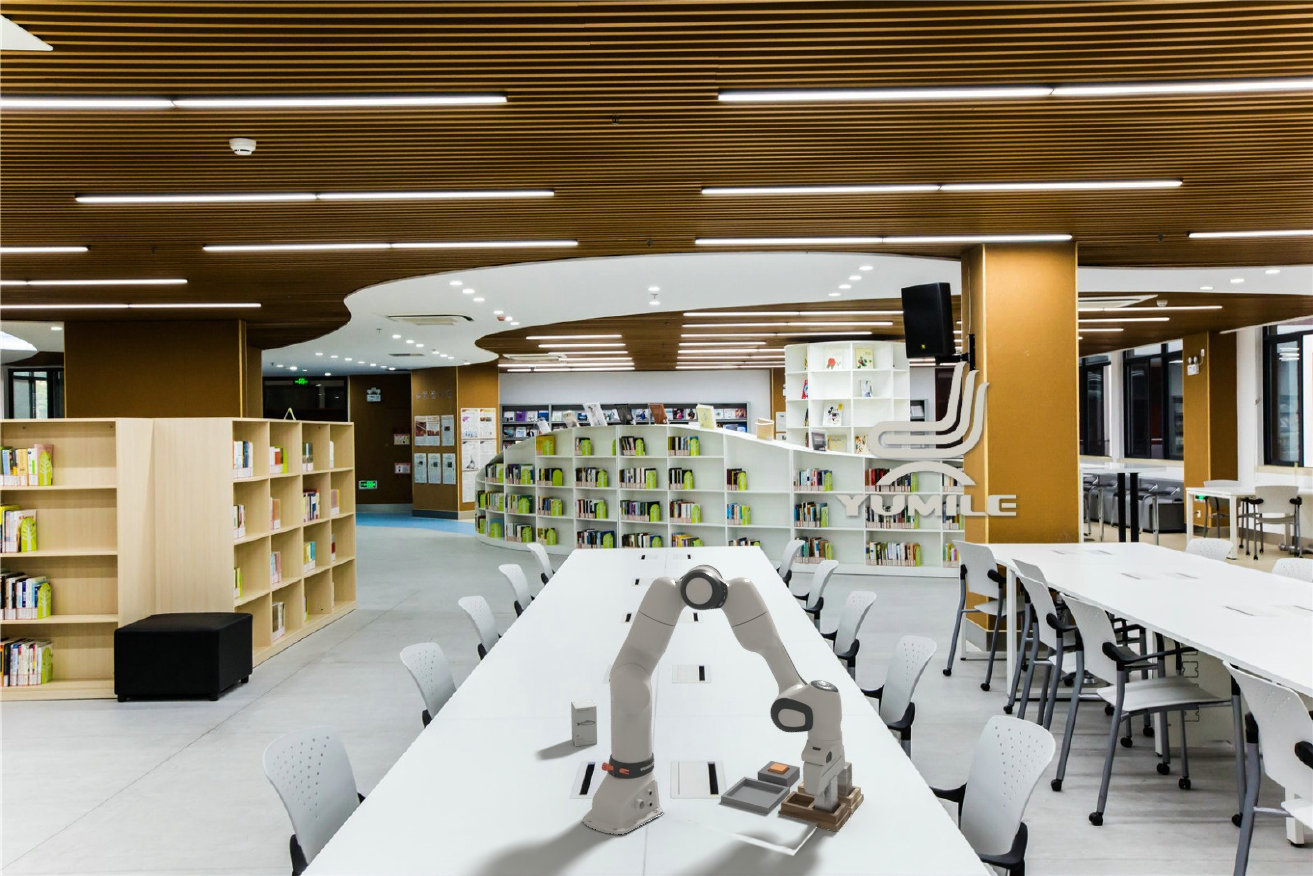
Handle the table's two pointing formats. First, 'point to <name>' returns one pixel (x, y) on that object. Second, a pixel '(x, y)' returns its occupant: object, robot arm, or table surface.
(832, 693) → the robot arm
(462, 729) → the table surface
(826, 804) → the block
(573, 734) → the supplement box
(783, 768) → the button
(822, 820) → the pallet
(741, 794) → the tray
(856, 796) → the tray
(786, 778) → the button console
